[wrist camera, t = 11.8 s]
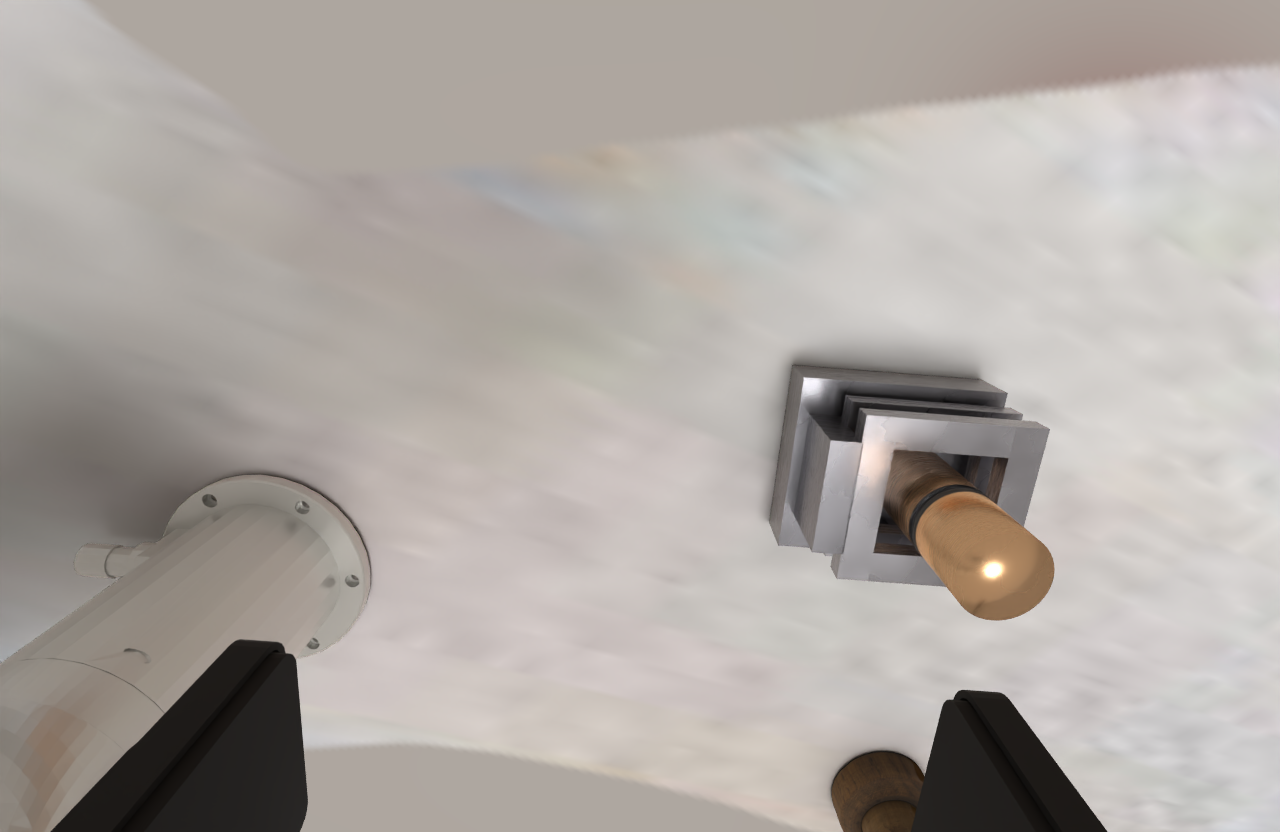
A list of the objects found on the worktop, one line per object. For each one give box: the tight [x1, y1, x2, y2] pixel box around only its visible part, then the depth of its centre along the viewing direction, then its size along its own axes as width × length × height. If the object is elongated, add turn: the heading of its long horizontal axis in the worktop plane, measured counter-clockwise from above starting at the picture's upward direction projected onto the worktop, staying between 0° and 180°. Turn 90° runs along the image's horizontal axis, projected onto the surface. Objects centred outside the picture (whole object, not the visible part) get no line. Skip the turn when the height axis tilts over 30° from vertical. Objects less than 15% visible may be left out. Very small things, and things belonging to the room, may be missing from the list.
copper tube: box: [883, 449, 1054, 620], centre depth 32 cm, size 4×4×11 cm
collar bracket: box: [769, 365, 1050, 587], centre depth 37 cm, size 11×10×7 cm
